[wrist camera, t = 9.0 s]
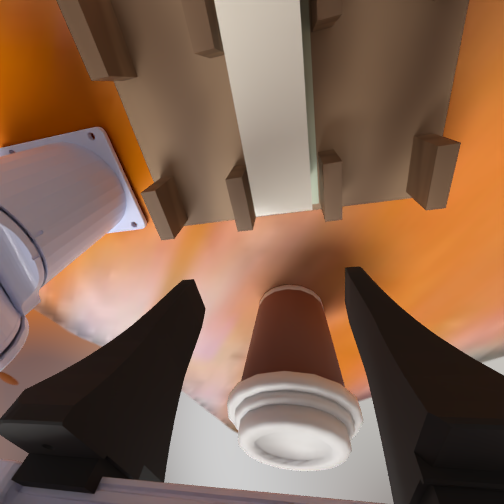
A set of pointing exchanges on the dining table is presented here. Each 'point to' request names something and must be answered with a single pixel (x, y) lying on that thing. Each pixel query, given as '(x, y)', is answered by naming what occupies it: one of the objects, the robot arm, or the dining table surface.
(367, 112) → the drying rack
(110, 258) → the dining table surface
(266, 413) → the coffee cup
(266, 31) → the cream rectangular block
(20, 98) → the dining table surface
